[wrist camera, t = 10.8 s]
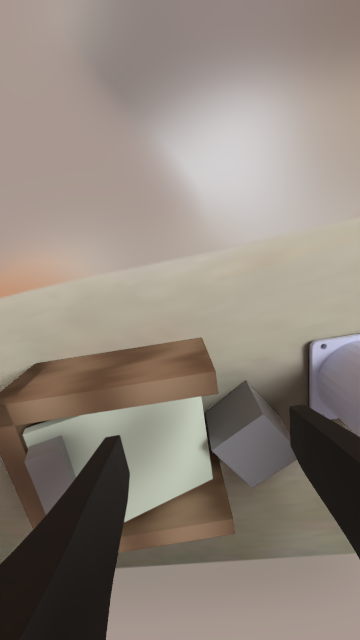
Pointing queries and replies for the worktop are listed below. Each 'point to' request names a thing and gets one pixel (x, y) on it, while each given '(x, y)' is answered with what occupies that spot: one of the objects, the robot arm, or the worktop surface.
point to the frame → (112, 394)
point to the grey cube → (249, 435)
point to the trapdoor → (139, 446)
